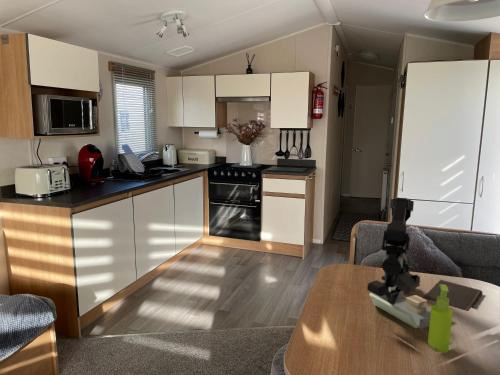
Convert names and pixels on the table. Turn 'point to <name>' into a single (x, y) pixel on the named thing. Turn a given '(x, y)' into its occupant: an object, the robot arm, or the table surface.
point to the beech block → (416, 304)
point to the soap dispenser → (440, 322)
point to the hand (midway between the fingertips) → (391, 306)
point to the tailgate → (393, 310)
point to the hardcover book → (456, 295)
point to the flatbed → (420, 318)
